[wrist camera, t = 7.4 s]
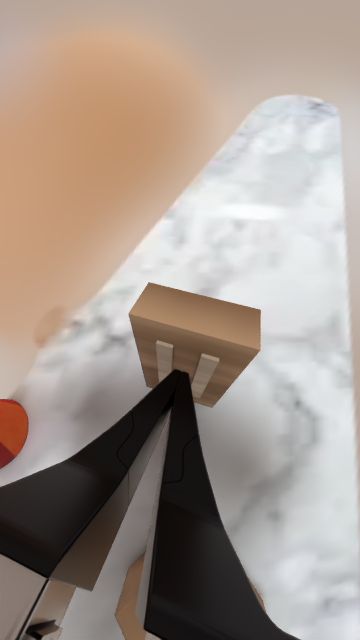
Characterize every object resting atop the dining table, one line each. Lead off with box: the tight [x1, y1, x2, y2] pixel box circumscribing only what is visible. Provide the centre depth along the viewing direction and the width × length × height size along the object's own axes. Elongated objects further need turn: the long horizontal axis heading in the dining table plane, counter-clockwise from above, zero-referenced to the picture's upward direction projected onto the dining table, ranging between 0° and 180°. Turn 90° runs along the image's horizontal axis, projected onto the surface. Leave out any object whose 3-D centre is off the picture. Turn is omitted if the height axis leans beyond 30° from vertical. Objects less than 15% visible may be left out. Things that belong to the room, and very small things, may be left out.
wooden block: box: [129, 283, 261, 408], centre depth 12 cm, size 3×6×10 cm, turn 73°
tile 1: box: [115, 554, 266, 640], centre depth 12 cm, size 7×7×3 cm
